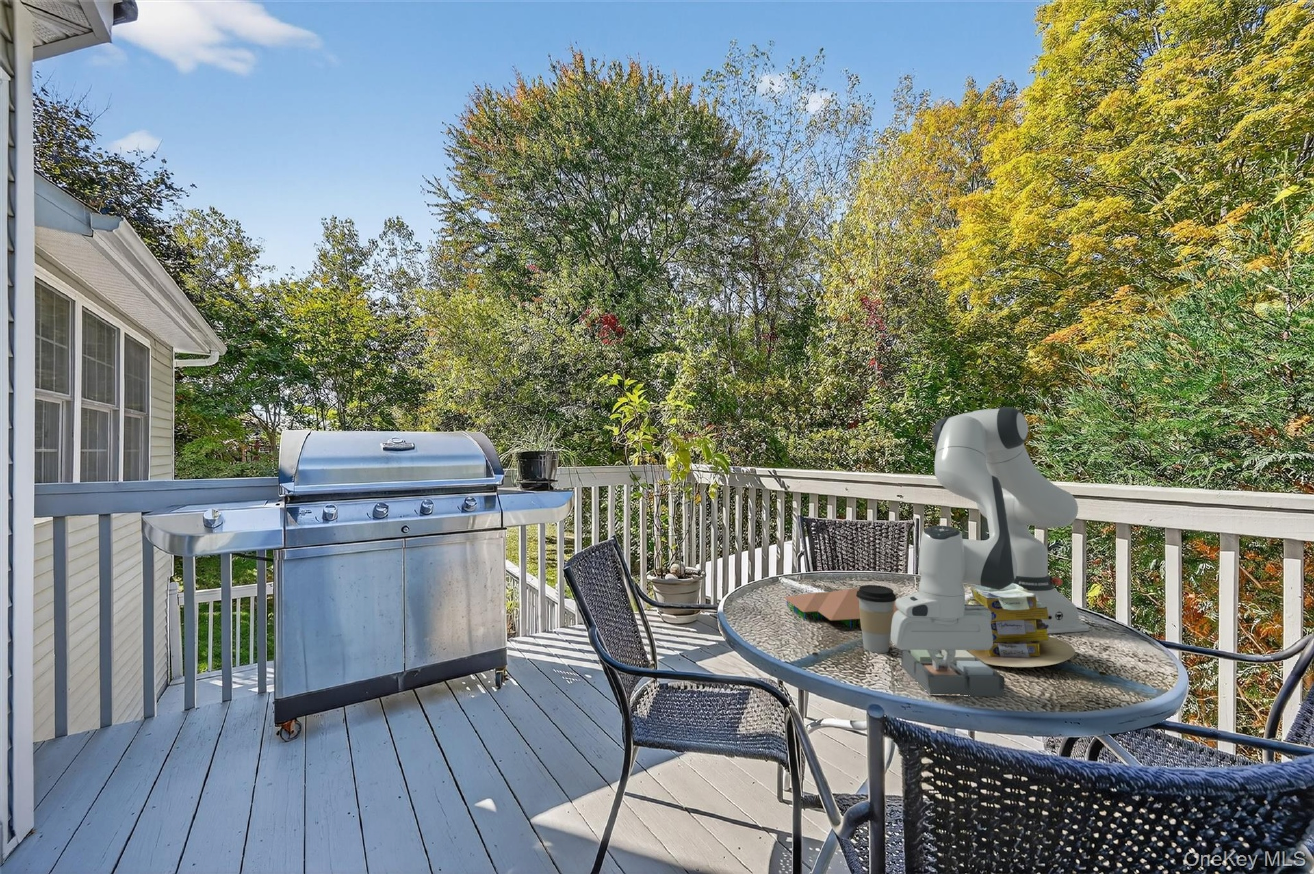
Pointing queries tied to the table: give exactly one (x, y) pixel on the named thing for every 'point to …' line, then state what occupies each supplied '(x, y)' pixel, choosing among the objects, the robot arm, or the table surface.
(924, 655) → the key sage
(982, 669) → the key bluegrey
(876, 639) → the coffee cup
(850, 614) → the house
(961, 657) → the key cream
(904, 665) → the keypad
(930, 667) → the key terracotta
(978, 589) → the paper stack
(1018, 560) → the robot arm
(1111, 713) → the table surface
